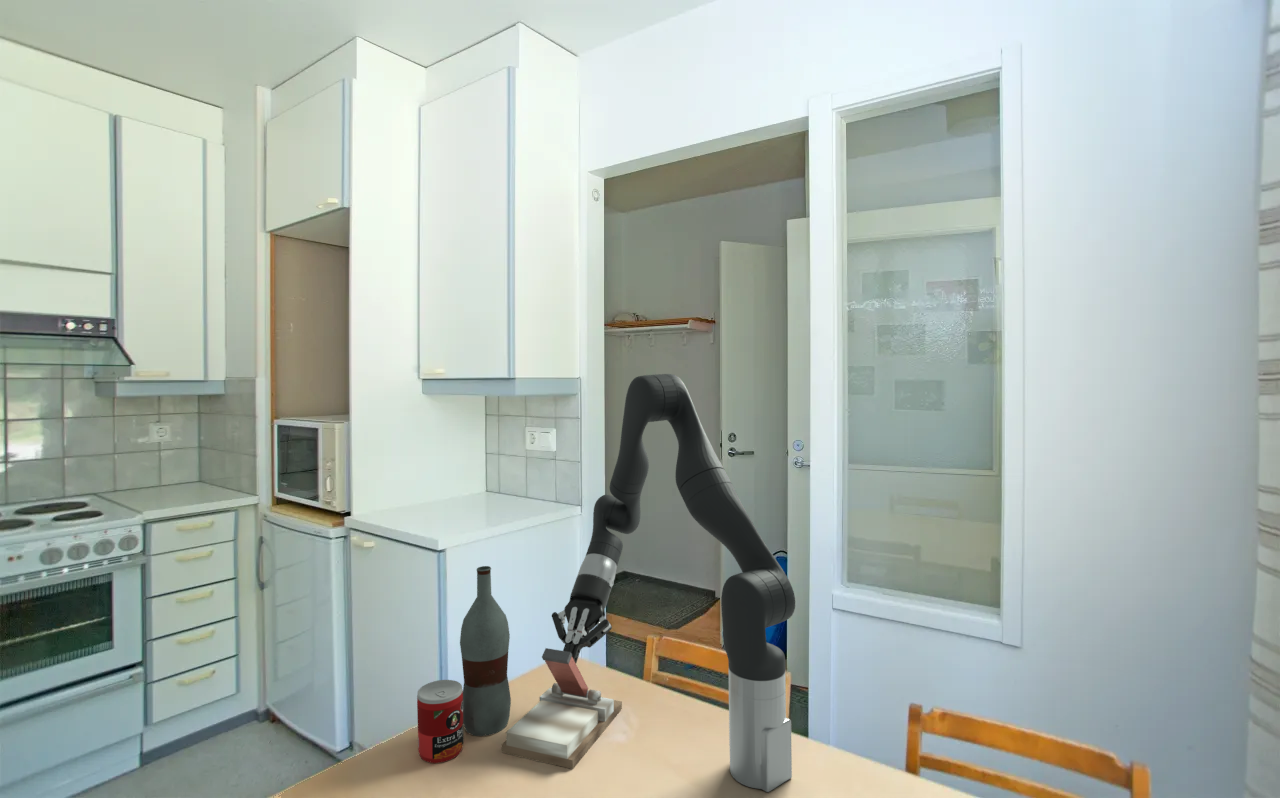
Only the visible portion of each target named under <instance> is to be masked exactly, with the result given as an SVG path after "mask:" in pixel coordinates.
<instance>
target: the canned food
mask: <svg viewBox="0 0 1280 798" xmlns="http://www.w3.org/2000/svg"><path fill="white" fill-rule="evenodd" d="M416 699H417V700H416V701H417V703H416V705H417V706H416V707H417V710H416V711H417V739H418V740H417V747H418V748H417V749H418V754H419V757H420V758H421V760H423V761H424V762H427V763H430V764H431V763H432V764H440V763H445V762H448V761H451V760H453V759H455V758H456V757H457V756H459V755H460V753H462V751H463V746H464V739H465V738H464V724H463V684H462V683H461V682H459V681H457V680H454V679H453V680H452V679H439V680H435V681H434V680H433V681H431V682H430V681H429V682H428V683H426V684H424V685H422V686H421V687H420V688H419V689H418V690H417V696H416Z"/></svg>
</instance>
